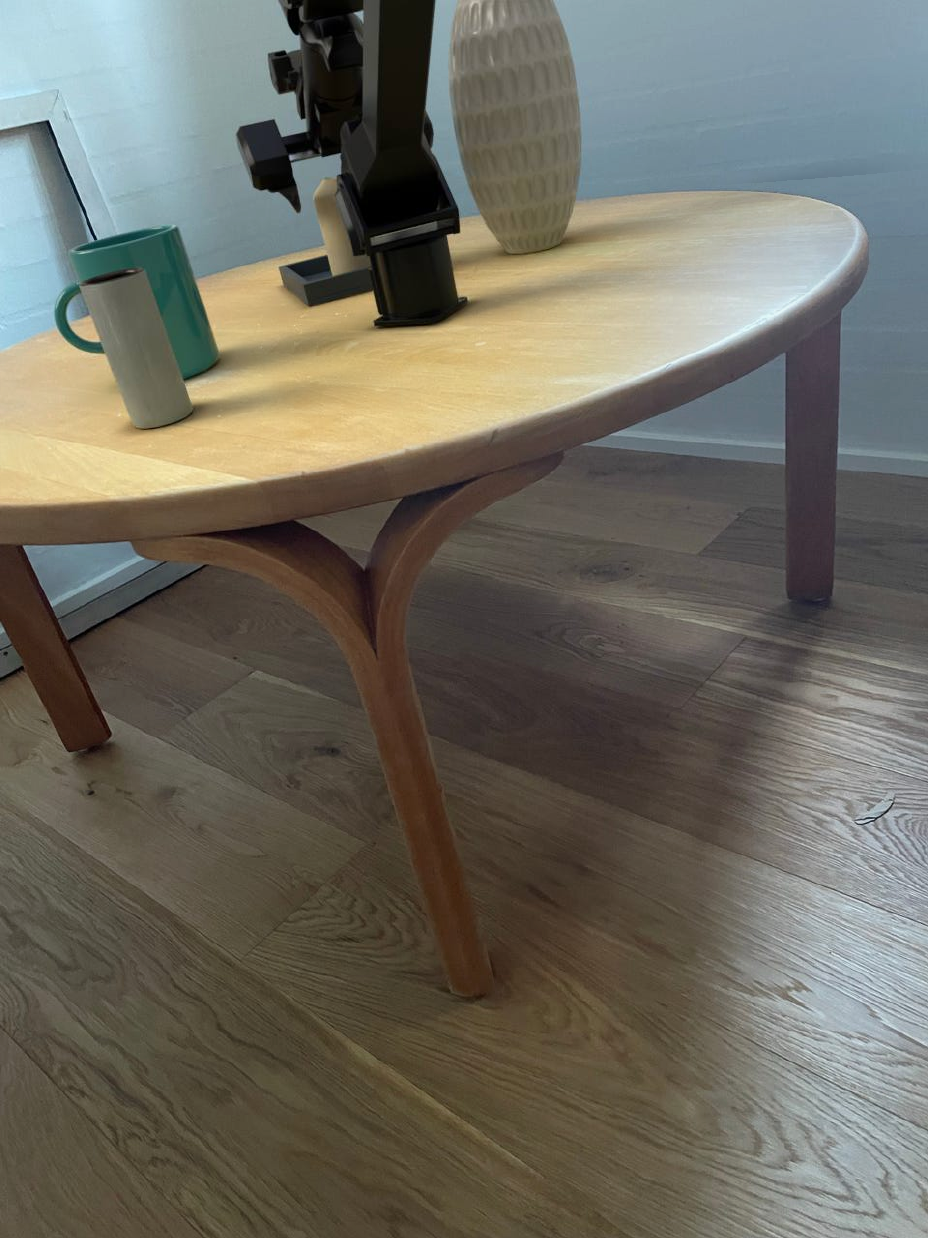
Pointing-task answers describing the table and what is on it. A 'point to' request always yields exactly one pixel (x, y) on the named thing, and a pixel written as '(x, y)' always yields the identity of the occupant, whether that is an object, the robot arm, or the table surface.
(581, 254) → the table surface
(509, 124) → the vase
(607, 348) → the table surface
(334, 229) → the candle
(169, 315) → the cup
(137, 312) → the planter
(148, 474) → the table surface
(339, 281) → the tray
